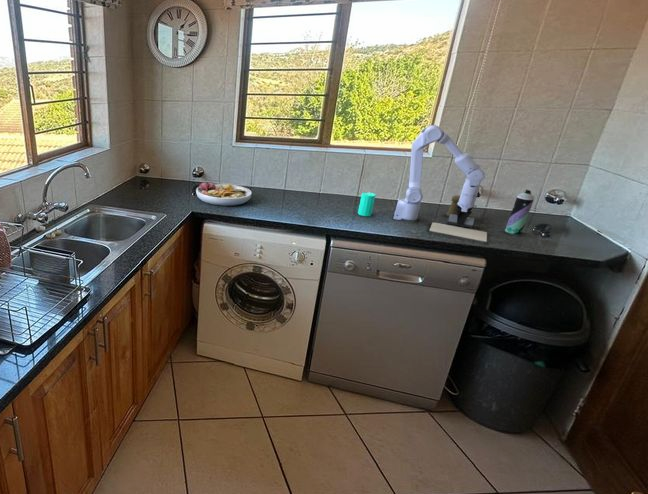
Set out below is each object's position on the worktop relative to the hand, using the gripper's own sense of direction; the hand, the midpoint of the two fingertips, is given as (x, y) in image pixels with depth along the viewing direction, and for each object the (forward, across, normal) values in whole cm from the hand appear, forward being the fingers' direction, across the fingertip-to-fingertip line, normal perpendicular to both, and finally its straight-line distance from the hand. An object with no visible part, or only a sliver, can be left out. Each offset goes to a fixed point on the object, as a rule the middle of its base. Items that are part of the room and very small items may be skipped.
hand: (460, 222), depth 184 cm
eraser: (+1, 0, 0) cm, 1 cm away
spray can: (+2, +5, -19) cm, 20 cm away
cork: (+2, +15, +3) cm, 15 cm away
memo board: (+2, -10, 0) cm, 10 cm away
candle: (+2, -8, +38) cm, 39 cm away
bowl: (+2, -32, +105) cm, 110 cm away
